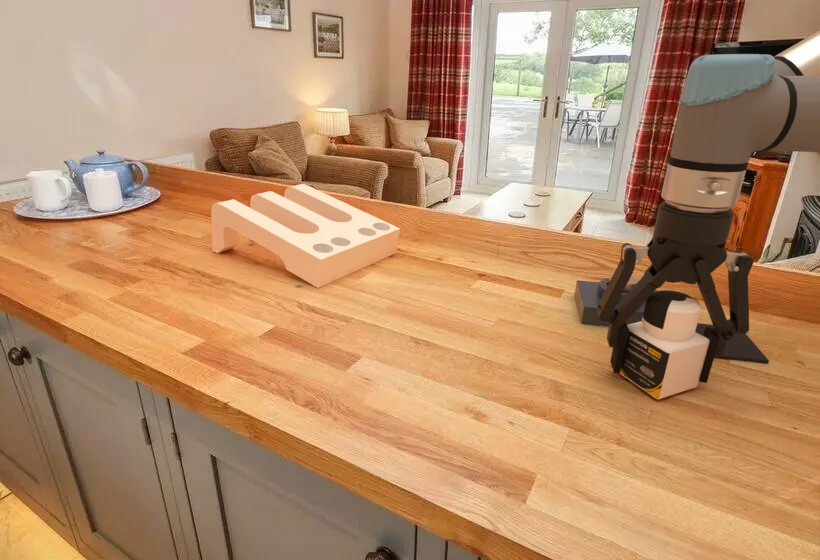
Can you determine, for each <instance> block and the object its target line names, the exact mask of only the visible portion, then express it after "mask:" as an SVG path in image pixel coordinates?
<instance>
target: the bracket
mask: <svg viewBox="0 0 820 560" xmlns="http://www.w3.org/2000/svg"><path fill="white" fill-rule="evenodd" d="M249 204H250V205H249V206H247V205H246V204H244V203H242V202H240V201H238V200H237V199H229V200H223V201H219V202H215V203H213V204H212V206H211V210H210V215H211V217H210V218H211V251H213V252H214V253H216V254H220V253H223V252H226V251H229V250H233V249H235V248H236V247H237V246H238V245H239V244H240V235H242V236H243V237H246V238H247V239H249V240H250V241H252V242H254V243H256V244H257V245H259V246H261V247H263V248H264V249H266V250H268V251H270V252H272V253H273V254H275V255H277V256H278V257H279V258H280V259H281V261H282V262H283V264H284V266H285V269H286V270H287V271H288V272H289V273H292V274H293V275H295V276H297V277H298V278H300V279H302V281H305V282H307V283H308V284H310V285H312V286H313V287H315V288H317V289H319V288H322V287H324V286H327V285H328V284H330V283H333V282H335V281H338V280H339V279H342V278H344V277H346V276H348V275H351V274H353V273H355V272H357V271H359V270H361V269H364V268H366V267H369V266H370V265H373V264H375V263H377V262H379V261H381V260H383V259H384V260H385V259H386V258H388V257H390V256H393V255H395V254H396V253H397V250H398V244H399V238H400V232H401V228H400V227H398V226H396V225H394V224H391V223H389V222H387V221H385V220H383V219H380V218H378V217H377V216H374V215H372V214H371V213H368V212H366V211H363V210H361V209H359V208H357V207H355V206H352V205H351V204H349V203H347V202H344V201H342V200H340V199H338V198H336V197H333V196H331V195H329V194H327V193H325V192H323V191H320V190H318V189H316V188H314V187H311V186H310V185H307V184H306V183H301V184H296V185H291V186H288V187H286V188H285V190H284V196H282V195H281V194H278V193H276V192H274V191H272V190H269V191H265V192H259V193H255V194H253V195H252V196H251V197H250V202H249Z"/></svg>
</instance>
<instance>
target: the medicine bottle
mask: <svg viewBox="0 0 820 560" xmlns="http://www.w3.org/2000/svg"><path fill="white" fill-rule="evenodd" d="M701 311H702V305H701V304H700V302H699V300H697V299H696V298H694V297H692V296H691V295H689V294H686V293H683V292H680V291H676V290H669V289H668V290H667V289H666V290H665V289H663V290H656V291H655V292H653V293H652V294H651V295H650V296H649V297H648V298H647V299H646V302H645V307H644V312H643V316H642V321H641V322H637V323H633V324H629V325H627V326H628V329H629V331H628V336H627V341H626V346H625V351H624V355H623V360H622V365H621V370H620V373H618V374H619V375H620V376H622V377H623V378H625V379H626V380H628V381H630V382H631V383H632V384H634V385H635V386H637V387H638V388H639V389H641V390H643V392H645V393H647V394H648V395H649V396H651V397H652V398H654V399H656V400H661V399H664V398H668V397H671V396H674V395H677V394H679V393H682V392H686V391H689V390H693V389H695V388H698V386H699V383H700V381H699V379H700V375H701V372H702V368H703V365H704V361H705V358H706V354H707V350H708V347H709V343H710V340H709V339H708V338H706V337H704V336H702V335H700V334H698V333H696V332H695V330H696V326H697V323H699V318H700V315H701Z"/></svg>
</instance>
